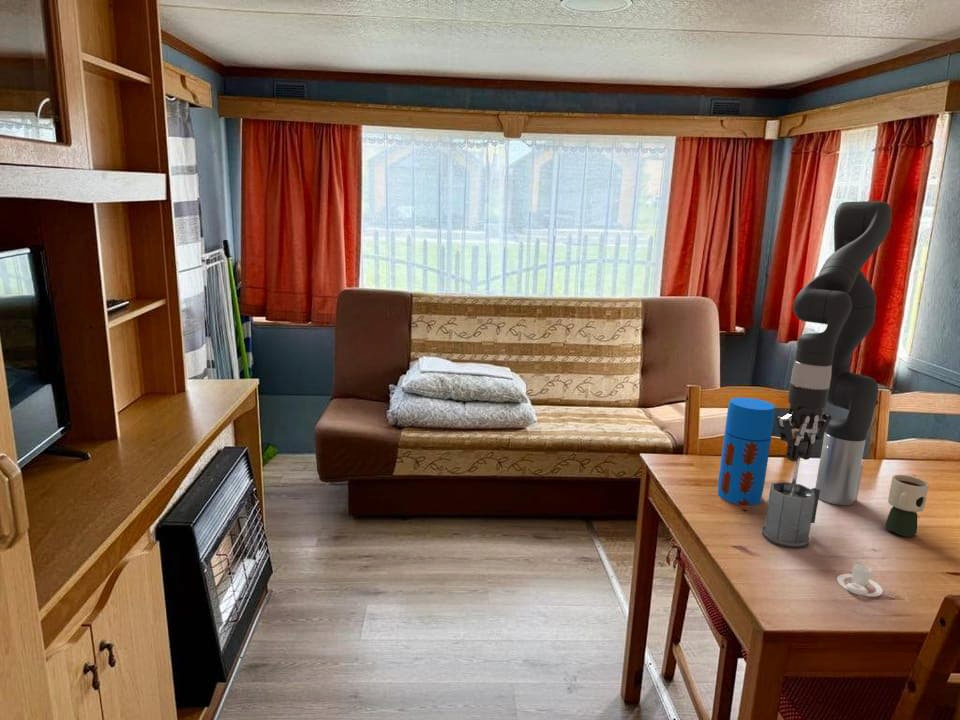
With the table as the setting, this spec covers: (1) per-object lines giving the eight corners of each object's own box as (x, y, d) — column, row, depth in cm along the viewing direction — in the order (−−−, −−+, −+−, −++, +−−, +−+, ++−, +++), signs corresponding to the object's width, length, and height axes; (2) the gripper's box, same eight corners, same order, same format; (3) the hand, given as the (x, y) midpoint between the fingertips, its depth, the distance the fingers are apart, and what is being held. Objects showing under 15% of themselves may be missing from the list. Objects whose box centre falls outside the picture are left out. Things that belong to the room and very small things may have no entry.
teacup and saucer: (860, 602, 125) (864, 583, 124) (824, 581, 132) (828, 562, 132) (891, 594, 129) (895, 575, 128) (854, 573, 136) (858, 555, 135)
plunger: (790, 493, 151) (800, 433, 147) (814, 506, 145) (825, 443, 141) (767, 497, 148) (776, 436, 145) (791, 510, 142) (801, 446, 139)
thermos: (765, 508, 163) (780, 412, 158) (720, 502, 165) (733, 407, 160) (756, 490, 174) (770, 399, 168) (714, 485, 176) (726, 395, 170)
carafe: (793, 524, 156) (801, 477, 153) (827, 543, 147) (836, 494, 144) (752, 531, 151) (759, 484, 148) (785, 551, 142) (793, 501, 140)
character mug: (912, 546, 147) (923, 492, 144) (876, 534, 152) (886, 482, 149) (922, 530, 155) (933, 479, 152) (888, 520, 160) (898, 469, 157)
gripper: (819, 376, 146) (807, 450, 150) (771, 380, 141) (759, 456, 145) (849, 385, 139) (835, 462, 143) (799, 389, 134) (786, 469, 138)
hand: (797, 458), depth 144 cm, fingers closed on plunger, 3 cm apart
